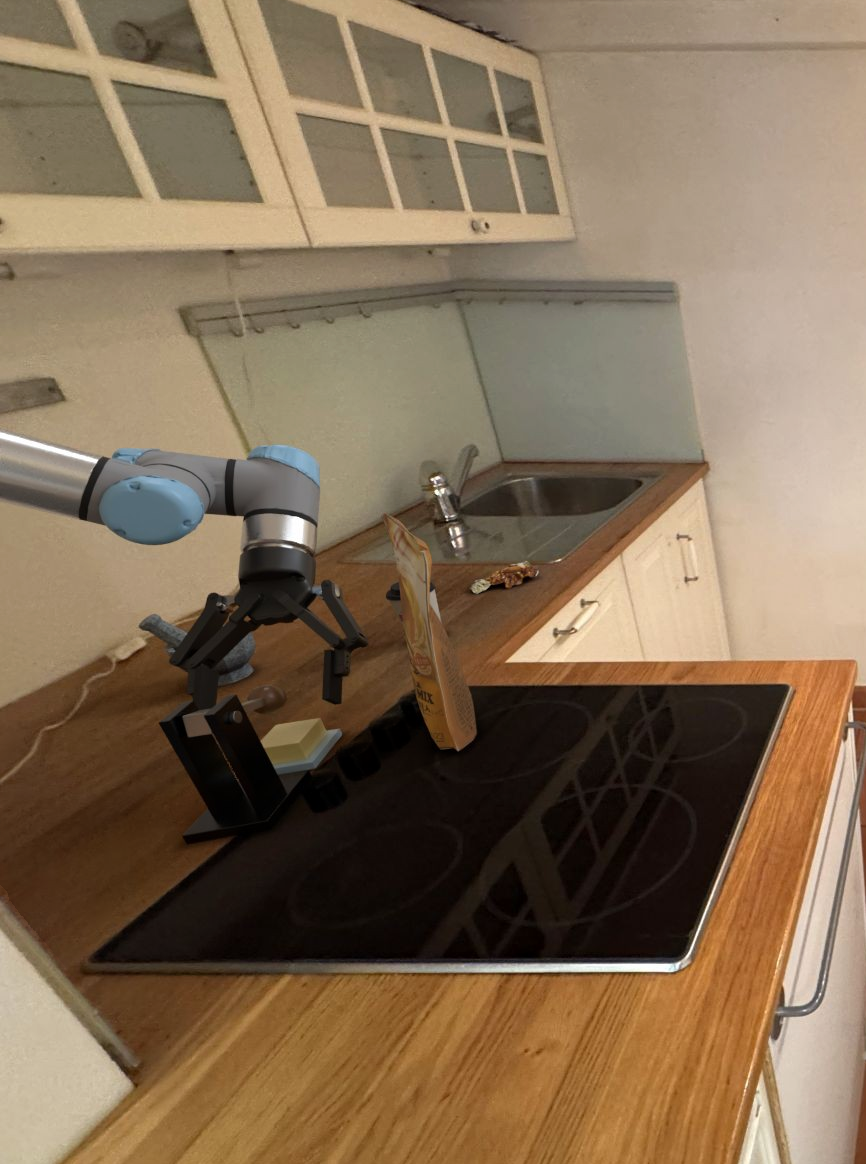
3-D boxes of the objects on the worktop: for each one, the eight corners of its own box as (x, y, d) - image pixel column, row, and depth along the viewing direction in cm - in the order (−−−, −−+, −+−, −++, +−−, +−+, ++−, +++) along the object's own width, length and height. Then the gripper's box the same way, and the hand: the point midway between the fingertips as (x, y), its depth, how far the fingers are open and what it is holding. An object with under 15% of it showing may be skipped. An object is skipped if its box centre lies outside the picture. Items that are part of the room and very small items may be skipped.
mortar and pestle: (270, 656, 125) (238, 589, 120) (266, 678, 118) (231, 607, 113) (178, 678, 119) (140, 608, 114) (168, 702, 112) (126, 629, 107)
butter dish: (249, 779, 94) (237, 756, 93) (281, 744, 101) (270, 721, 100) (315, 768, 96) (304, 745, 94) (342, 734, 103) (332, 712, 101)
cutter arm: (263, 712, 96) (255, 684, 95) (296, 707, 97) (289, 680, 96) (181, 744, 82) (172, 712, 82) (221, 738, 83) (212, 706, 83)
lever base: (236, 790, 93) (182, 691, 87) (312, 777, 94) (265, 680, 88) (186, 844, 84) (122, 739, 78) (271, 829, 86) (215, 725, 80)
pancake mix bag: (474, 688, 113) (409, 505, 101) (498, 744, 100) (426, 540, 87) (421, 703, 110) (347, 516, 97) (438, 764, 96) (354, 554, 84)
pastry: (466, 588, 149) (460, 571, 148) (530, 570, 157) (525, 553, 156) (479, 597, 145) (473, 579, 143) (544, 578, 153) (539, 561, 151)
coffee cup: (411, 633, 131) (390, 579, 127) (456, 626, 133) (437, 573, 129) (398, 650, 125) (375, 594, 121) (445, 643, 127) (425, 588, 123)
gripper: (400, 556, 107) (398, 701, 101) (187, 580, 102) (170, 735, 95) (371, 532, 100) (367, 686, 94) (141, 555, 95) (119, 721, 88)
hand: (268, 711), depth 94 cm, fingers open, 13 cm apart
